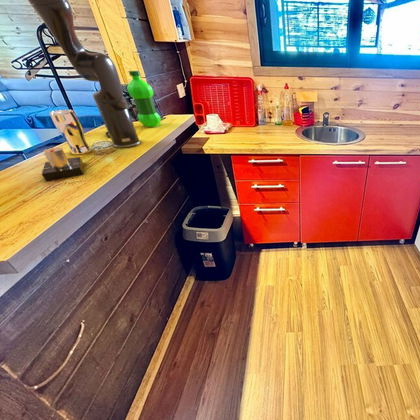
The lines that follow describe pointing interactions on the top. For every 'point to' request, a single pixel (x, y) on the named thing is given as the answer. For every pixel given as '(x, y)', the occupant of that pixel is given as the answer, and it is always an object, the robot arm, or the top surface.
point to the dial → (56, 158)
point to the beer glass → (70, 130)
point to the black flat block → (63, 170)
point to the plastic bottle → (143, 100)
